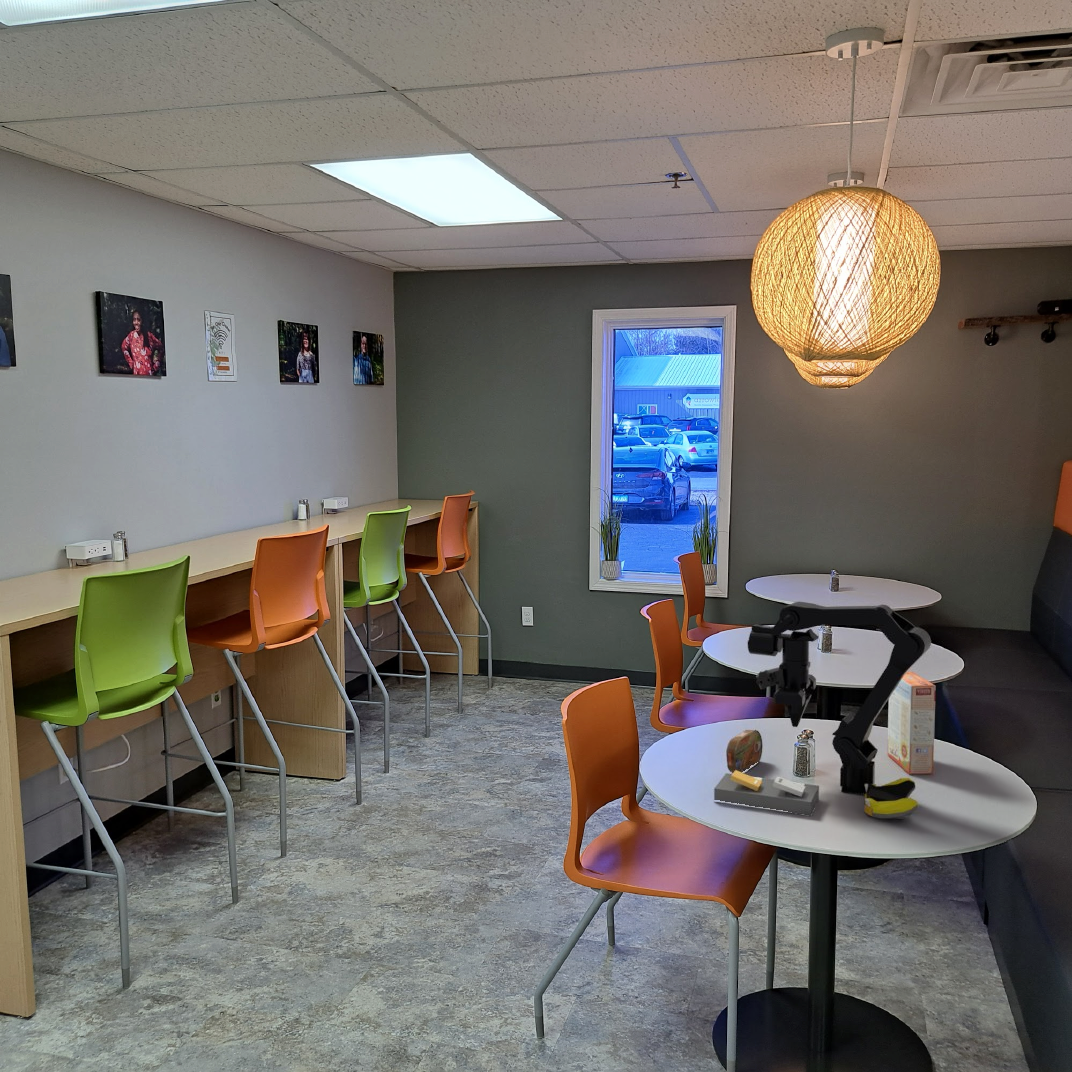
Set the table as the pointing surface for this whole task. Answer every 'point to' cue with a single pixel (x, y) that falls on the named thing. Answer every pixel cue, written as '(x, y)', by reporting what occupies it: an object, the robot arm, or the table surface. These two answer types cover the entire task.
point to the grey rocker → (789, 786)
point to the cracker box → (912, 724)
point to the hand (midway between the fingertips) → (795, 726)
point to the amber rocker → (746, 780)
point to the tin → (744, 750)
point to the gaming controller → (890, 799)
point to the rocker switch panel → (767, 796)
